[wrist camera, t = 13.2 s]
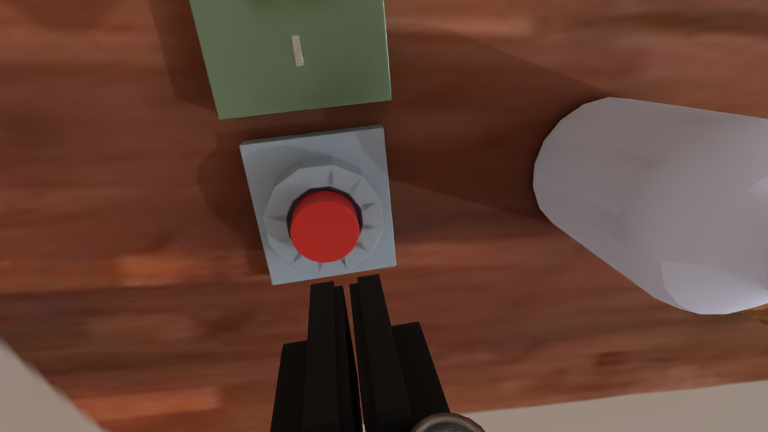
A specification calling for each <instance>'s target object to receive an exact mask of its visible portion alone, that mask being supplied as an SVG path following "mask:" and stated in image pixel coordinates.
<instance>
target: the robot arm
mask: <svg viewBox="0 0 768 432" xmlns="http://www.w3.org/2000/svg"><path fill="white" fill-rule="evenodd" d="M357 279H358V283H356V284H350V295H351V305H352V314H353V324H354V334H355V344H356V354H357V363H358V373H359V383H360V393H361V402H362V411H363V418H364V425H365V431H366V432H485V431H484V430H483V428H482V427H481V426H480V425H478V424H477V423H476V422H474V421H473V420H471V419H470V418H467V417H465V416H462V415H459V414H454V413H450V410H449V407H448V405H447V402H446V399H445V396H444V393H443V390H442V387H441V384H440V381H439V378H438V375H437V373H436V370H435V367H434V364H433V361H432V358H431V355H430V352H429V349H428V346H427V343H426V341H425V338H424V335H423V332H422V329H421V326H420V324H419V322H413V323H407V324H401V325H395V326H391V323H390V319H389V315H388V311H387V307H386V302H385V298H384V294H383V290H382V286H381V281H380V277H379V274H376V275H369V276H363V277H357ZM270 432H363V428H362V417H361V407H360V397H359V387H358V378H357V370H356V364H355V358H354V352H353V345H352V339H351V333H350V327H349V321H348V315H347V308H346V302H345V296H344V290H343V286H337V287H335V286H334V282H333V281H331V282H324V283H318V284H312V285H311V290H310V306H309V322H308V339H307V340H305V341H299V342H293V343H287V344H284V345H283V348H282V354H281V361H280V368H279V374H278V381H277V388H276V395H275V402H274V409H273V416H272V423H271V430H270Z"/></svg>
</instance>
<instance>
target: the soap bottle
mask: <svg viewBox="0 0 768 432" xmlns="http://www.w3.org/2000/svg"><path fill="white" fill-rule="evenodd" d="M533 189H534V192H535V196H536V199H537V202H538V205H539V209H540V210H541V211H542V212H543V213H544V214H545V215H546V217H547V218H548V219H549V220H550V221H551V222H552V223H553V224H554V225H556V226H557V227H558V228H560V229H561V230H562V231H564V232H565V233H567V234H568V235H569V236H571V237H572V238H573V239H575V240H576V241H577V242H579V243H580V244H582V245H583V246H584V247H586V248H587V249H588V250H590V251H591V252H593V253H594V254H595V255H597V256H598V257H599V258H601V259H602V260H603V261H605V262H606V263H608V264H609V265H610V266H612V267H613V268H614V269H616V270H617V271H618V272H620V273H621V274H623V275H624V276H625V277H627V278H628V279H629V280H631V281H632V282H634V283H635V284H636V285H638V286H639V287H640V288H642V289H643V290H644V291H646V292H647V293H649V294H650V295H651V296H653V297H654V298H655V299H658V300H660V301H662V302H665V303H667V304H670V305H672V306H674V307H677V308H680V309H683V310H687V311H691V312H694V313H698V314H729V313H733V312H738V311H742V310H746V309H750V308H754V307H757V306H760V305H764V304H767V303H768V119H764V118H758V117H751V116H744V115H737V114H730V113H723V112H716V111H709V110H702V109H695V108H689V107H682V106H675V105H668V104H661V103H654V102H647V101H640V100H633V99H624V98H614V97H607V98H604V99H600V100H597V101H593V102H590V103H586V104H584V105H582V106H580V107H579V108H577V109H576V110H574V111H573V112H572V113H570V114H569V115H567V116H566V117H564V118H563V119H561V120H560V121H559V123H558V124H557V125H556V126H555V128H554V129H553V130H552V131H551V133H550V134H549V135H548V136H547V137H546V139H545V140H544V142H543V144H542V147H541V149H540V152H539V154H538V156H537V159H536V161H535V164H534V177H533Z"/></svg>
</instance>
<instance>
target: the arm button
mask: <svg viewBox="0 0 768 432" xmlns="http://www.w3.org/2000/svg"><path fill="white" fill-rule="evenodd" d="M290 235H291V240H292V243H293V245H294V247H295V248H296V249H297V251H298V252H299V253H300V254H301V255H303V256H304V257H306V258H307V259H309V260H312V261H315V262H321V263H328V262H334V261H337V260H340V259H342V258H343V257H345V256H347V255H348V254H349V253H350V252H351V251H352V250H353V248H354V247H355V245H356V244H357V241H358V238H359V224H358V219H357V214H356V211H355V208H354V206H353V205H352V203H351V202H350V201H349V200H348V199H347V198H346V197H345V196H343V195H341V194H339V193H337V192H334V191H328V190H322V191H316V192H313V193H310V194H308V195H307V196H305V197H304V198H303V199H301V200H300V201H299V203H298V204H297V205H296V207H295V209H294V212H293V216H292V222H291V228H290Z"/></svg>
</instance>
